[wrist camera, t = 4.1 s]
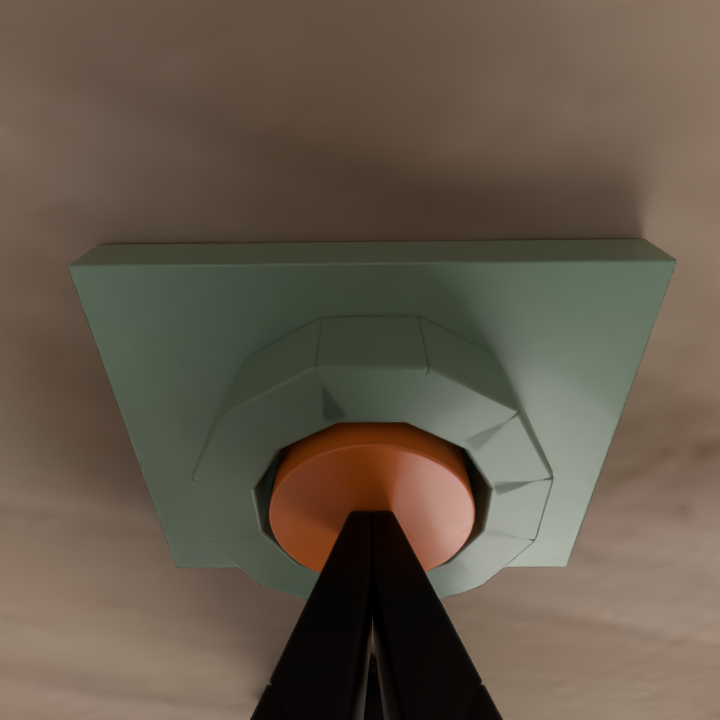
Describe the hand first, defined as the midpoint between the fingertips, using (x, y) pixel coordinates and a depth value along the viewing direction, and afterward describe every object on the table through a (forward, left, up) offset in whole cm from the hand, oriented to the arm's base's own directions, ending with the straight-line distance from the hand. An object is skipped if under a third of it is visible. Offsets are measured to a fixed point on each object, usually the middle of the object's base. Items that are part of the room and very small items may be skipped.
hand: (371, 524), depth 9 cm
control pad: (0, 0, -3) cm, 3 cm away
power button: (0, 0, -2) cm, 2 cm away
